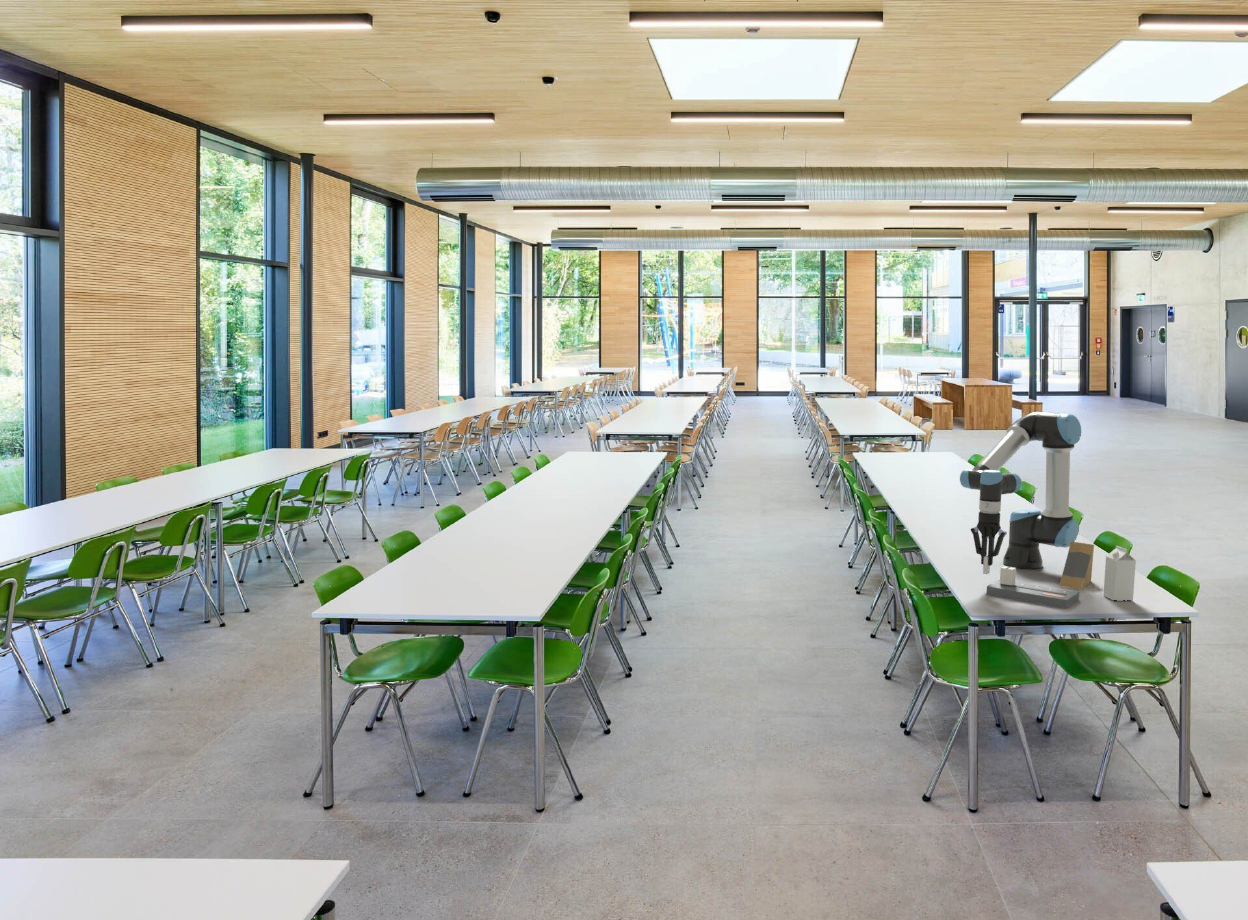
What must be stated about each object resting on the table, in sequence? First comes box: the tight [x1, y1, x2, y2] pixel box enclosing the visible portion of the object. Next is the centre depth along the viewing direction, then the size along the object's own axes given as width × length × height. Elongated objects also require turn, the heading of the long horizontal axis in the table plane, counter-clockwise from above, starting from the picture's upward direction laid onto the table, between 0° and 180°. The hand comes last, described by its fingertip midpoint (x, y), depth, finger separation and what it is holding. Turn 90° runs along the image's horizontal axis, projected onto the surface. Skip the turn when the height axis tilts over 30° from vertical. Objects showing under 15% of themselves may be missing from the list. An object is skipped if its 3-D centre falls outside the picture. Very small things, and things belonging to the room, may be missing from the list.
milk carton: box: [1103, 545, 1137, 602], centre depth 341 cm, size 7×7×19 cm
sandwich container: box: [1058, 541, 1095, 590], centre depth 363 cm, size 9×15×15 cm, turn 142°
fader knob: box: [999, 565, 1017, 586], centre depth 349 cm, size 4×4×6 cm
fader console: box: [986, 579, 1080, 609], centre depth 344 cm, size 14×28×3 cm, turn 48°
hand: (986, 573), depth 355 cm, fingers closed
